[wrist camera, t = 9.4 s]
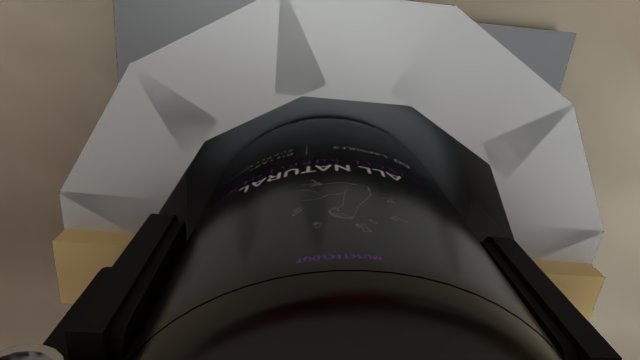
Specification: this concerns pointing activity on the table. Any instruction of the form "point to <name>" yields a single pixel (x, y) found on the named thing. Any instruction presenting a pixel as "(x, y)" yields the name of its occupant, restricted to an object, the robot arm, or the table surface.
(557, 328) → the robot arm
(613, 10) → the table surface
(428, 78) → the socket
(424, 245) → the supplement bottle
